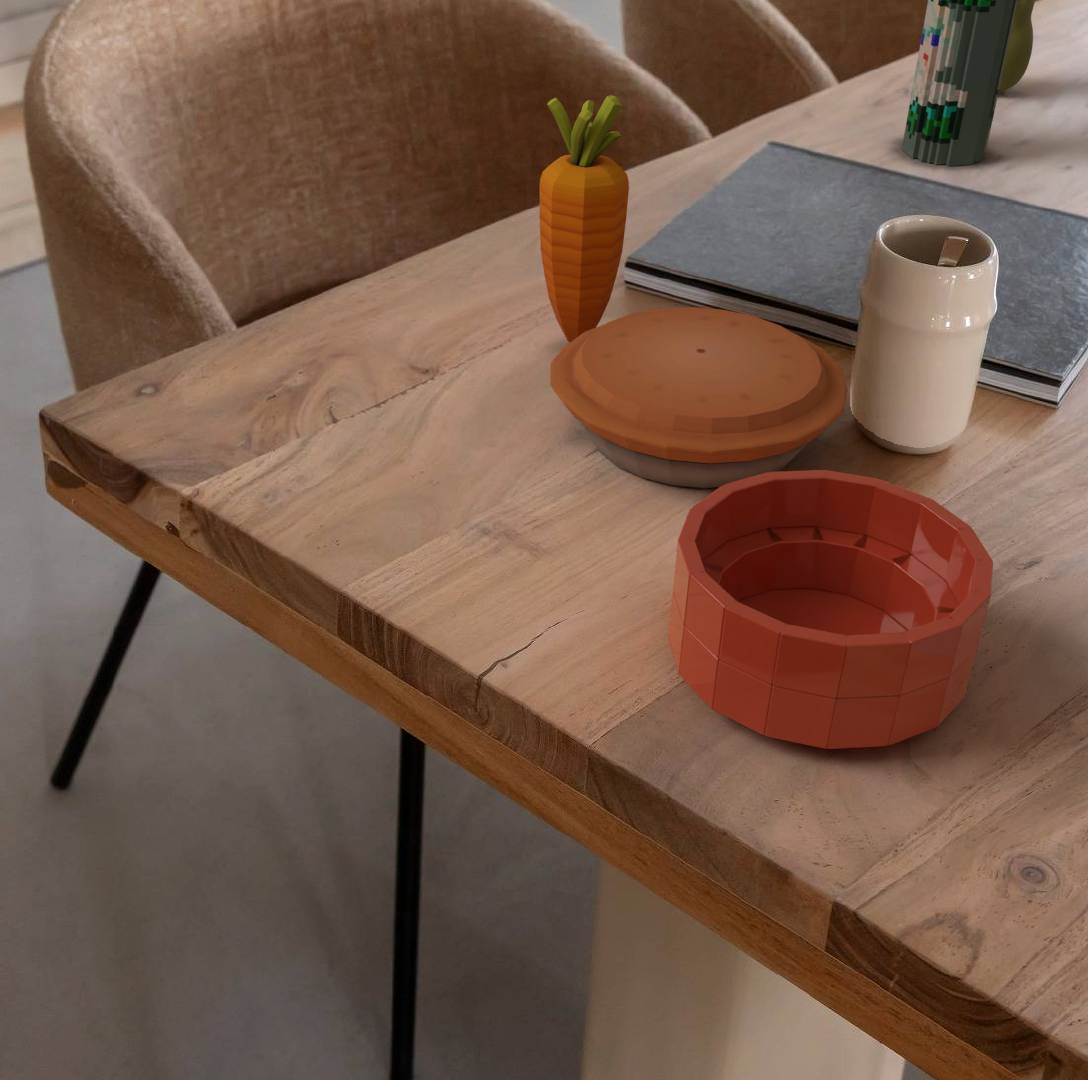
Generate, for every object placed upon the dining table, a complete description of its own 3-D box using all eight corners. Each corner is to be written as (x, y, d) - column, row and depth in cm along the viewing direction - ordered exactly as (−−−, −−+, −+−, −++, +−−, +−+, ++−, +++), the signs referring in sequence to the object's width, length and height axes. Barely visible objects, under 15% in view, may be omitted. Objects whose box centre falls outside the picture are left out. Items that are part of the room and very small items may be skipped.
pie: (883, 416, 80) (899, 334, 77) (759, 547, 69) (772, 458, 66) (639, 343, 87) (645, 265, 84) (494, 452, 76) (494, 367, 73)
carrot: (518, 345, 86) (522, 92, 77) (577, 322, 89) (588, 74, 80) (576, 375, 83) (587, 115, 74) (636, 349, 86) (654, 95, 77)
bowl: (766, 549, 69) (781, 440, 66) (1011, 655, 63) (1043, 541, 59) (612, 674, 61) (620, 558, 58) (873, 809, 55) (900, 689, 52)
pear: (1033, 98, 125) (1060, -24, 119) (977, 102, 124) (1002, -21, 118) (1000, 79, 129) (1025, -40, 123) (946, 83, 128) (969, -37, 122)
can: (891, 140, 116) (925, -60, 107) (961, 136, 117) (1001, -63, 108) (923, 167, 111) (962, -40, 102) (996, 162, 112) (1041, -43, 103)
